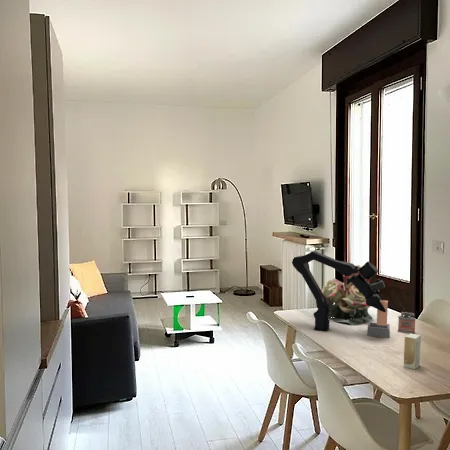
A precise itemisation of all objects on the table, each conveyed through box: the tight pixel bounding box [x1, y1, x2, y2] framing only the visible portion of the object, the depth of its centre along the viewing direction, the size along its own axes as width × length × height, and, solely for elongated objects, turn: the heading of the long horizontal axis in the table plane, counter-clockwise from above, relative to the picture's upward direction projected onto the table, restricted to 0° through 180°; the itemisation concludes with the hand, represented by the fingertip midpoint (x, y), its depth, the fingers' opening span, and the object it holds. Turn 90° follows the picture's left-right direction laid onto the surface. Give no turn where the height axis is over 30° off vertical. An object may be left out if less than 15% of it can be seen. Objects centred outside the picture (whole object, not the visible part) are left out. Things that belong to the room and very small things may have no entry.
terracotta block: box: [376, 299, 389, 326], centre depth 233 cm, size 4×4×11 cm
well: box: [366, 321, 391, 338], centre depth 240 cm, size 10×10×4 cm
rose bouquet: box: [320, 264, 374, 326], centre depth 267 cm, size 26×29×30 cm
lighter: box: [397, 311, 417, 335], centre depth 243 cm, size 8×3×10 cm, turn 62°
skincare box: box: [403, 333, 422, 370], centre depth 193 cm, size 6×4×12 cm
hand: (385, 310), depth 232 cm, fingers closed on terracotta block, 4 cm apart
